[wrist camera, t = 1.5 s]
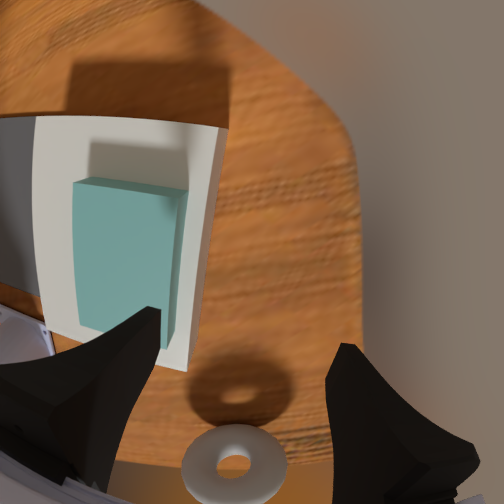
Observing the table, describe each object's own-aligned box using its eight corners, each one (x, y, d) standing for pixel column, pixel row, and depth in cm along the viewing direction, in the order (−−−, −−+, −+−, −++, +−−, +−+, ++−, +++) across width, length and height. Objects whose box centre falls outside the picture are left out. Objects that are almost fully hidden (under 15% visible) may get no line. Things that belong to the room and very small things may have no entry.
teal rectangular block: (175, 330, 19) (166, 349, 17) (93, 309, 19) (79, 325, 17) (189, 190, 16) (178, 198, 14) (91, 176, 16) (72, 182, 14)
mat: (65, 303, 24) (63, 305, 24) (-4, 278, 24) (-6, 279, 23) (64, 115, 18) (62, 115, 18) (-11, 119, 18) (-14, 119, 18)
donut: (195, 435, 29) (179, 511, 20) (186, 417, 28) (166, 498, 19) (287, 433, 28) (289, 515, 19) (285, 414, 27) (287, 502, 18)
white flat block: (197, 338, 24) (186, 371, 20) (69, 305, 24) (46, 329, 20) (228, 128, 18) (218, 127, 15) (69, 115, 18) (36, 116, 14)
